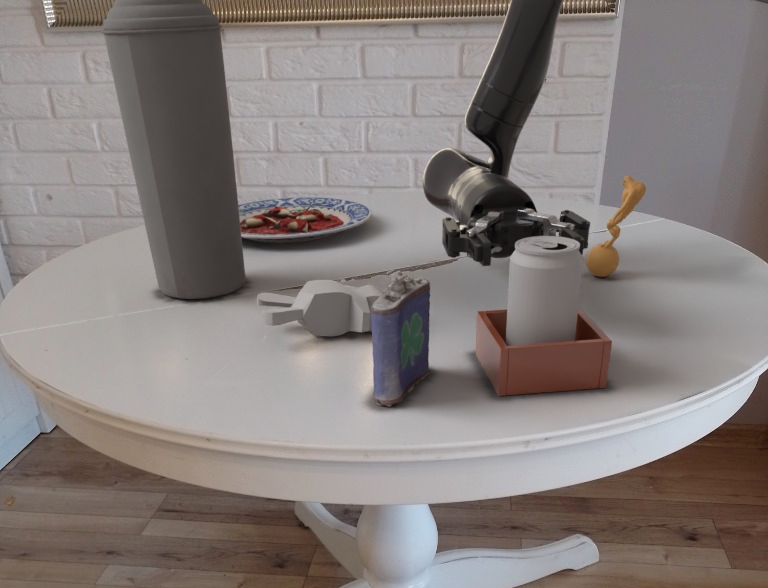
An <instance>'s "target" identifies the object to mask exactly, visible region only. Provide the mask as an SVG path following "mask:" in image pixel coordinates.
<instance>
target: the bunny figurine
mask: <svg viewBox="0 0 768 588" xmlns="http://www.w3.org/2000/svg"><path fill="white" fill-rule="evenodd" d="M383 293H385V292H384V291H383V289H381V288H380V287H378V286H376V285H374V284H365V285H362V286H360V287H357V286H353V285H348V284H344V283H341V282H339V281H336V280H331V279H313V280H307V281H306V282H305V284H304V285H303V286H302V288H301V289H300V290H299V292H298V294H297V295H296V297H295V296H289V295H285V294H278V293H273V292H260V293H258V294H257V296H256V305H257V306H262V307H275V308H270V309H269V308H268V309H263V310H262V323H263V324H264V325H266V326H271V327H276V326H282V325H285V324H289V323H292V322H293V323H294V322H296V321H297V323H298V324H300V325H301V326H302V327H303V328H304V329H306V330H307V331H308V332H310V333H311V335H312V336H313V337H315V338H319V337H338V336H342V335H344V334H345V333H348V332H355V333H356V332H357V333H365V332H370V333H372V323H371V307H372V305H373V303H374V302H375V301H376V300H377V299H378V298H379V297H380V296H381V295H383ZM276 307H277V308H276ZM278 307H279V308H278Z"/></svg>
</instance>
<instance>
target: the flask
mask: <svg viewBox="0 0 768 588" xmlns="http://www.w3.org/2000/svg"><path fill="white" fill-rule="evenodd" d="M388 276H390V283H389V284H388V286H387V287H388V290H386V291H385V292H384V293H383V295H381V296H380V297H379V298H378V299H377V300H376V301H375V302H374V303H373V305H372V307H371V323H372V332H371V340H372V342H371V343H372V361H373V362H372V363H373V365H372V366H373V367H372V376H373V377H372V378H373V379H372V380H373V399H374V402H375V404H377V406H387V407H388V408H389V407H392V406H393V405H395V404H399V403H401V402H402V401H403V400H404V397H405V396H406V395H408V394H410V393H411V392H413V390H414V387H415V385H419V382H420V381H421V380H424V379H425V378H426V377H427V376H428V375H429V374H430V368H429V367H430V366H429V365H430V363H429V356H430V355H429V353H430V346H429V345H430V310H431V300H430V298H431V283H430V281H429V280H428V279H425V278H420V277H415V276H414V277H409V275H408V274H407V273H406V274H404V273H403V272H402V271H401V270H396V269H390V270H388V271H387V272H386V274H385V276H384V278H385V279H387V278H388Z"/></svg>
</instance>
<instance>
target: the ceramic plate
mask: <svg viewBox="0 0 768 588" xmlns="http://www.w3.org/2000/svg"><path fill="white" fill-rule="evenodd" d="M238 207H239V217H240V227H241V238H242V239H247V240H249V241H253V242H259V243H270V244H286V243H288V244H289V243H300V242H301V243H302V242H308V241H309V242H310V241H315V240H320V239H324V238H328V237H331V236H334V235H336V234H339V233H340V232H342V231H347V230H349V229H353V228H355V227H359V226H361V225H363V224H365V223H366V222H368V221H370V219H371V218H372V216H373V210H372V208H371V207H369V206H367V205H366V204H364V203H361V202H358V201H354V200H349V199H344V198H336V197H318V196H317V197H315V196H313V197H312V196H306V197H305V196H301V197H282V198H273V199H272V198H271V199H264V200H256V201H252V202H245V203H242V204H238Z"/></svg>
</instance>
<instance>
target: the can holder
mask: <svg viewBox="0 0 768 588" xmlns="http://www.w3.org/2000/svg"><path fill="white" fill-rule="evenodd" d="M506 326H507V308H506V309H491V310H477V311H476V327H475V356H476V358H477V360H478V363H479V364H480V365H481V367H482V369H483V371H484V373H485V374H486V376H487V378H488V380H489V381H490V383H491V385H492V387H493V388H494V390H495V392H496V395H497V396H498V397H505V396H515V395H517V396H518V395H529V394H542V393H553V392H554V393H555V392H566V391H578V390H579V391H580V390H591V389H592V390H593V389H606V388H607V382H608V374H609V367H610V360H611V359H610V358H611V353H612V351H611V350H612V343H613V341H612V339H611V338H610V337H609V336H608V335H607V334H606V333H605V332H604V331H603V330H602V329H601V328H600V327H599V326H598V325H597V324H596V323H595V322H594V321H593V320H592V319H591V318H590V317H589V315H587V314H586V313H585V312H584V310H582V308H581V307H580V306H578V314H577V324H576V334H575V341H567V342H553V343H540V344H526V345H513V346H507V345H506Z"/></svg>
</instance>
